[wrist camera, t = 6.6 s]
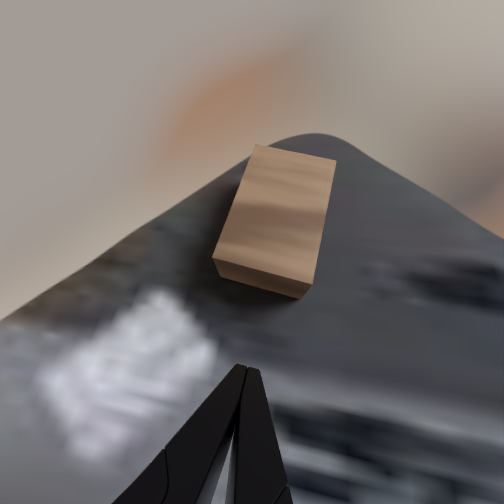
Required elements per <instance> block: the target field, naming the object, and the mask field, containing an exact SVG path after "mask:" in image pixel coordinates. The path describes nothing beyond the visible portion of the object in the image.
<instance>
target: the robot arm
mask: <svg viewBox="0 0 504 504" xmlns="http://www.w3.org/2000/svg"><path fill="white" fill-rule="evenodd" d="M235 424H236V425H235ZM234 429H235V430H234ZM233 433H234V435H233ZM232 437H233V441H232ZM231 441H232V448H231V457H230V465H229V474H228V483H227V491H226V500H225V504H293V501H292V497H291V493H290V489H289V487H288V486H287V485H288V482H287V478H286V474H285V470H284V466H283V462H282V458H281V454H280V450H279V446H278V442H277V438H276V434H275V430H274V426H273V422H272V418H271V414H270V410H269V406H268V402H267V398H266V393H265V389H264V385H263V381H262V377H261V373H260V371H259V369H255V368H252V367H248V369H247V366H244V365H240V364H236V365H235V366H234V367H233V368H232V369H231V370H230V372H229V373H228V374H227V375H226V376H225V377H224V379H223V380H222V381H221V382H220V383H219V384H218V385H217V387H216V388H215V389H214V390H213V391H212V392H211V394H210V395H209V396H208V397H207V398H206V399H205V401H204V402H203V403H202V404H201V405H200V406H199V408H198V409H197V410H196V411H195V412H194V413H193V414H192V416H191V417H190V418H189V419H188V420H187V421H186V423H185V424H184V425H183V426H182V427H181V428H180V430H179V431H178V432H177V433H176V434H175V435H174V436H173V438H172V439H171V440H170V441H169V442H168V443H167V445H166V446H165V449H162V450H161V451H160V453H159V454H158V455H157V456H156V457H155V458H154V459H153V461H152V462H151V463H150V464H149V465H148V466H147V467H146V468H145V469H144V471H143V472H142V473H141V474H140V475H139V476H138V477H137V478H136V479H135V480H134V481H133V482H132V484H131V485H130V486H129V487H128V488H127V489H126V490H125V491H124V492H123V493H122V494H121V495H120V496H119V497H118V498H117V499H116V500H115V501H114V502H113V503H112V504H211V501H212V498H213V495H214V492H215V489H216V486H217V483H218V480H219V477H220V474H221V471H222V468H223V465H224V462H225V459H226V456H227V453H228V450H229V447H230V444H231Z"/></svg>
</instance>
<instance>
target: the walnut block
mask: <svg viewBox="0 0 504 504" xmlns="http://www.w3.org/2000/svg"><path fill="white" fill-rule="evenodd" d="M335 165H336V161H335V160H330V159H326V158H321V157H316V156H311V155H306V154H301V153H296V152H291V151H286V150H281V149H276V148H271V147H267V146H261V145H257V144H255V146H254V149H253V152H252V154H251V157H250V160H249V162H248V165H247V167H246V170H245V173H244V175H243V178H242V180H241V183H240V186H239V188H238V191H237V193H236V196H235V199H234V201H233V204H232V206H231V209H230V212H229V214H228V217H227V219H226V222H225V225H224V227H223V230H222V232H221V235H220V238H219V240H218V243H217V245H216V248H215V251H214V253H213V256H212V259H213V261H214V263H215V265H216V268H217V270H218V272H219V275H220V277H222V278H226V279H230V280H233V281H237V282H240V283H244V284H247V285H251V286H255V287H258V288H262V289H265V290H269V291H273V292H276V293H280V294H283V295H287V296H291V297H294V298H298V299H301V298H302V297H303V295H304V294H305V293H306V291H307V290H308V289H309V288H310V286H311V285H312V283H313V278H314V273H315V267H316V262H317V257H318V252H319V247H320V242H321V237H322V232H323V227H324V222H325V216H326V211H327V206H328V201H329V196H330V191H331V186H332V181H333V176H334V171H335Z"/></svg>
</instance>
